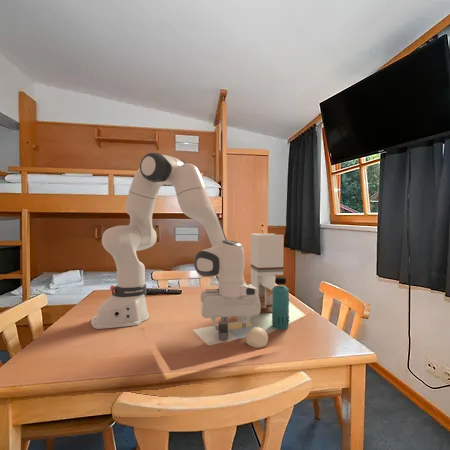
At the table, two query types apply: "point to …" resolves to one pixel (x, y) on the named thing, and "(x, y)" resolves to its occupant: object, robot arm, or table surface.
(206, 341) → the door board
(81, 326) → the table surface
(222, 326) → the latch bar
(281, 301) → the beverage bottle
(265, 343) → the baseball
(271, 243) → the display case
